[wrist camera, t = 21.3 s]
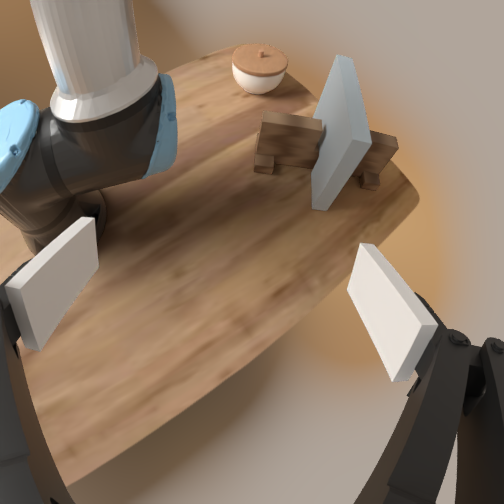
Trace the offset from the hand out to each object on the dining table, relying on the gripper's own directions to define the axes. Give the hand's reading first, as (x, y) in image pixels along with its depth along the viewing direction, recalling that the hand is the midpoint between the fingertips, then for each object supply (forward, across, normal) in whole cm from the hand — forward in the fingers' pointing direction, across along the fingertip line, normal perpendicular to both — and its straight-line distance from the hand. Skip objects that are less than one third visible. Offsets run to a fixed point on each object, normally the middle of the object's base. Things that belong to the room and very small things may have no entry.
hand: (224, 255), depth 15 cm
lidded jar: (+55, +2, +12) cm, 56 cm away
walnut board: (+41, +14, -1) cm, 43 cm away
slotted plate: (+41, +14, -1) cm, 43 cm away
